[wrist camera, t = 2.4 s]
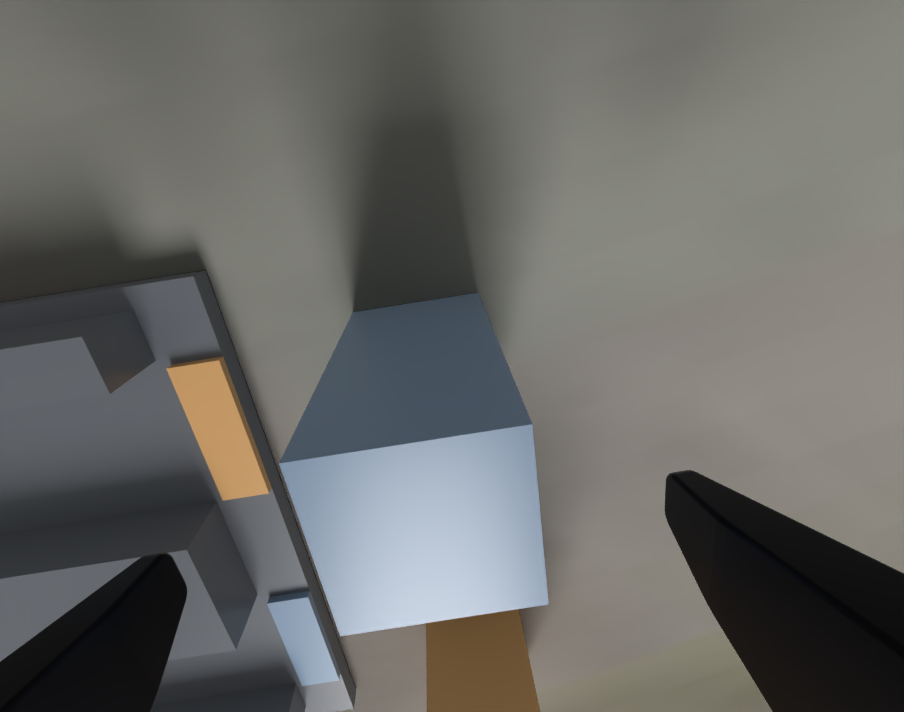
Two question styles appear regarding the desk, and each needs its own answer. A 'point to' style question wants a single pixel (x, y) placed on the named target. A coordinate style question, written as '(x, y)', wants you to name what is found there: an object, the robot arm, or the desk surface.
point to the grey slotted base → (156, 493)
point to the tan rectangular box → (479, 665)
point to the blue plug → (418, 472)
